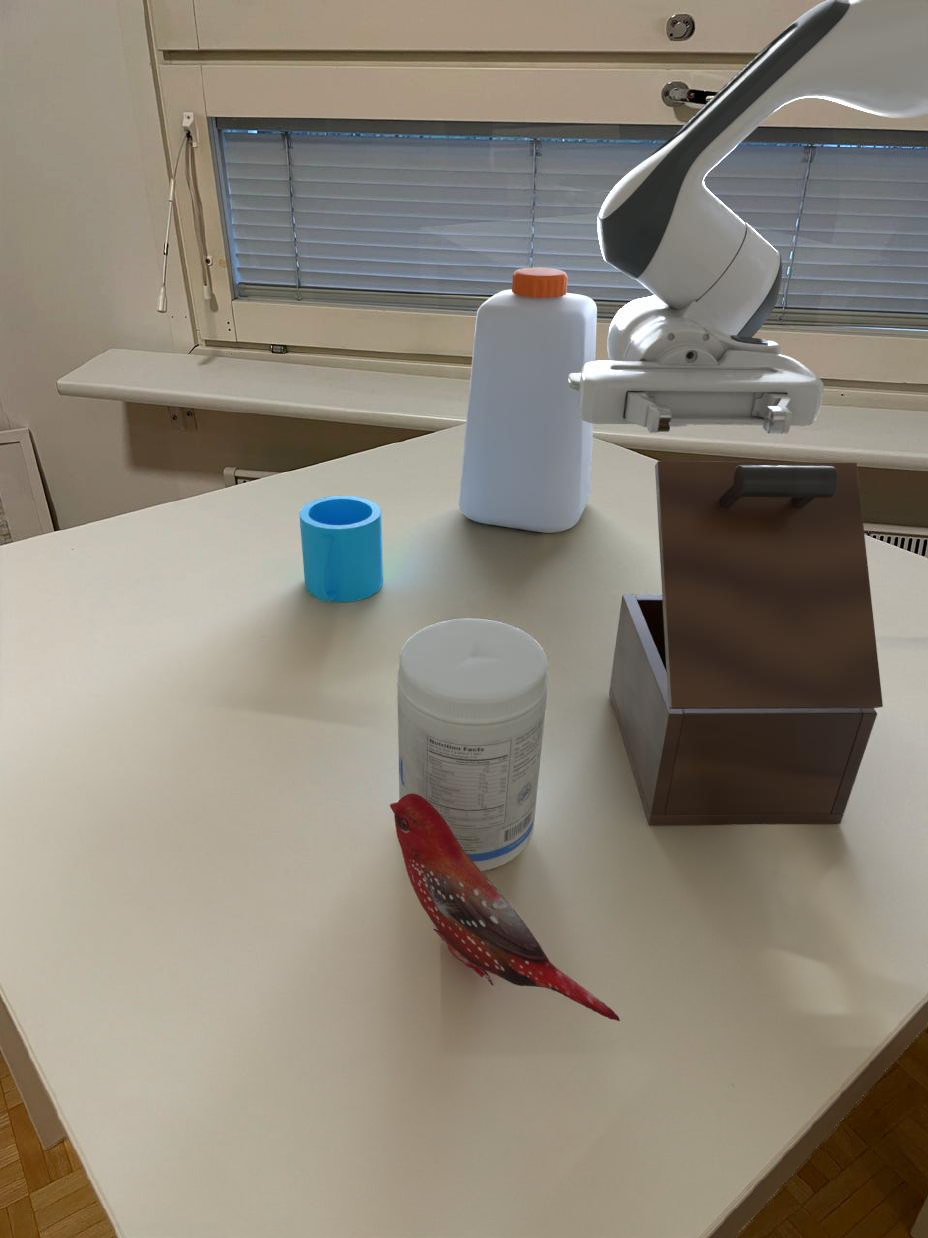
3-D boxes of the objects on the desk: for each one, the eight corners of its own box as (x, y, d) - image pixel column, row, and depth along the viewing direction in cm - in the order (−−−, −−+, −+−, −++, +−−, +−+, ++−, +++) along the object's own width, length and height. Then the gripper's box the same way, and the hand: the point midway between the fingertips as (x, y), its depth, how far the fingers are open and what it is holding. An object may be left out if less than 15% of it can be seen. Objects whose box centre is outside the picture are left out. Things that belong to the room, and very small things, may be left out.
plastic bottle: (572, 541, 102) (597, 289, 87) (449, 522, 105) (453, 277, 91) (594, 493, 114) (619, 265, 100) (484, 478, 118) (492, 256, 103)
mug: (320, 561, 96) (315, 492, 92) (391, 569, 95) (390, 499, 90) (279, 615, 86) (271, 541, 82) (359, 626, 84) (355, 550, 80)
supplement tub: (404, 779, 66) (402, 612, 58) (530, 782, 66) (544, 615, 58) (394, 879, 57) (390, 698, 50) (538, 882, 57) (555, 702, 50)
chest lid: (654, 465, 61) (678, 429, 55) (851, 467, 61) (895, 432, 56) (668, 709, 57) (695, 698, 51) (876, 708, 58) (926, 697, 52)
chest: (608, 693, 76) (622, 593, 71) (766, 693, 76) (791, 594, 71) (648, 826, 62) (669, 714, 57) (840, 824, 63) (878, 713, 58)
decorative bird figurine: (409, 883, 57) (407, 765, 52) (623, 1075, 46) (648, 951, 41) (374, 906, 55) (369, 787, 50) (588, 1112, 45) (610, 987, 39)
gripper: (566, 337, 77) (592, 381, 65) (793, 340, 78) (858, 384, 66) (561, 407, 81) (584, 461, 69) (778, 409, 81) (838, 463, 70)
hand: (721, 423), depth 68 cm, fingers open, 8 cm apart
